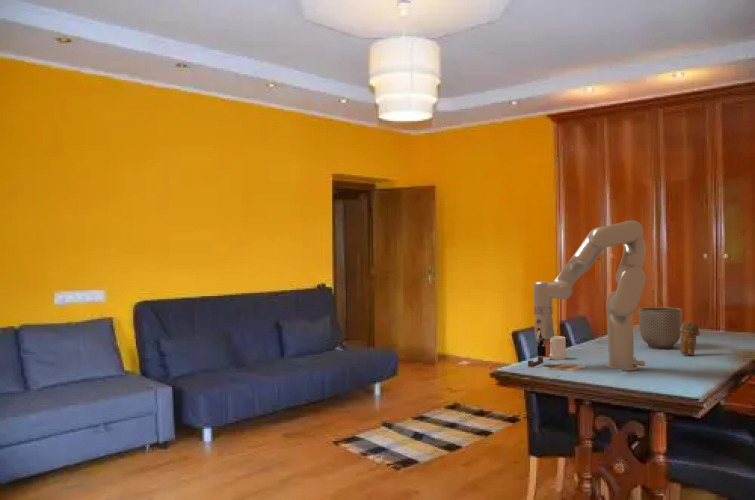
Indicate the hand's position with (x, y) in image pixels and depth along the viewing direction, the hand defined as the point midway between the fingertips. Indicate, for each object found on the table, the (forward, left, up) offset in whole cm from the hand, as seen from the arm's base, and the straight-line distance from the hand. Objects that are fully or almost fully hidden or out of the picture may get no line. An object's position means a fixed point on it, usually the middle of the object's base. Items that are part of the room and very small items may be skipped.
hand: (543, 354), depth 255 cm
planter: (-29, -79, -6) cm, 84 cm away
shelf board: (-5, 0, -6) cm, 8 cm away
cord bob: (0, 0, -1) cm, 1 cm away
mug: (+3, -19, -6) cm, 20 cm away
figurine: (-45, -61, -6) cm, 76 cm away
